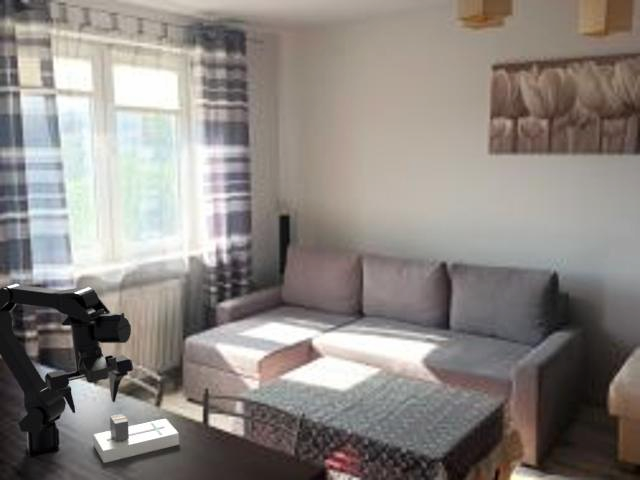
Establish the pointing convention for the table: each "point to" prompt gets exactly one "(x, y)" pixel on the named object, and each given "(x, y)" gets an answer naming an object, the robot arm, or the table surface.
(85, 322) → the robot arm
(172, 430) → the console
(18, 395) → the table surface
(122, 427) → the fader
